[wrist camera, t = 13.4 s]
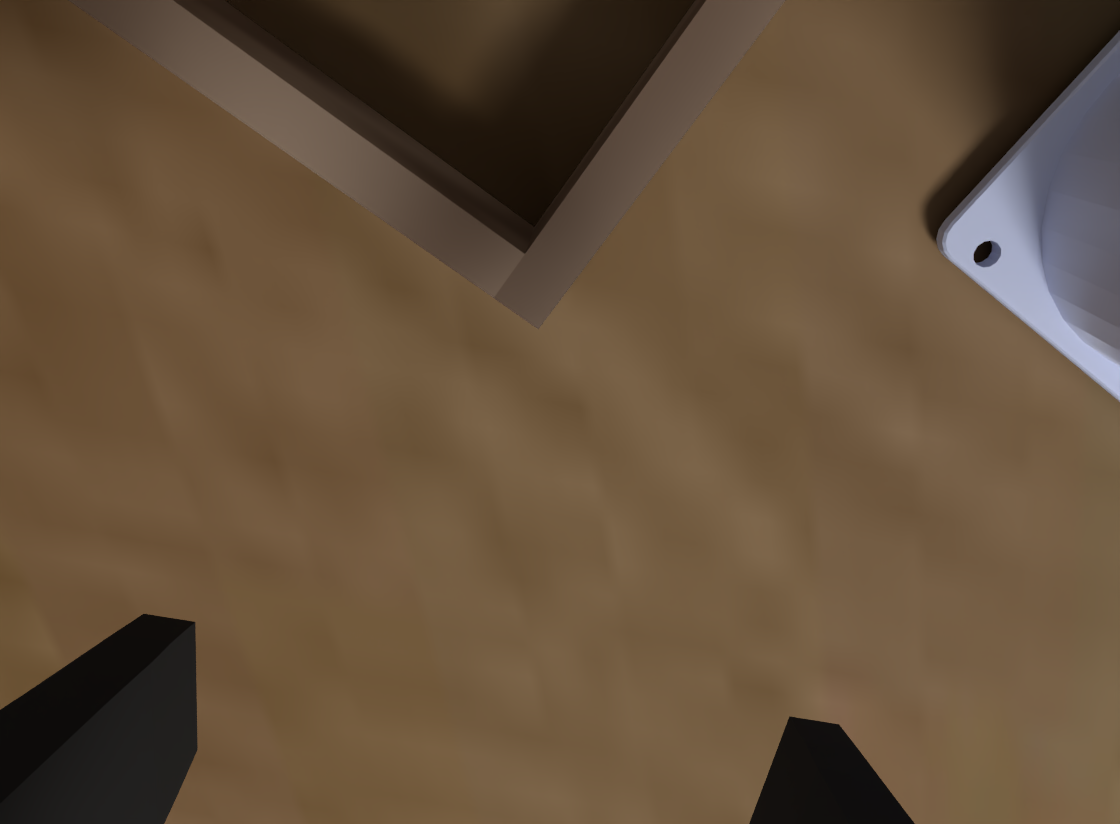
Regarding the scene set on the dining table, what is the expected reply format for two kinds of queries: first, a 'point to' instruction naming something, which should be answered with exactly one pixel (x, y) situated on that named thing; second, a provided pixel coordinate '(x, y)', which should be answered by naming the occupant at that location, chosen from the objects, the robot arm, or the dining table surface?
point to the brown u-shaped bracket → (418, 174)
